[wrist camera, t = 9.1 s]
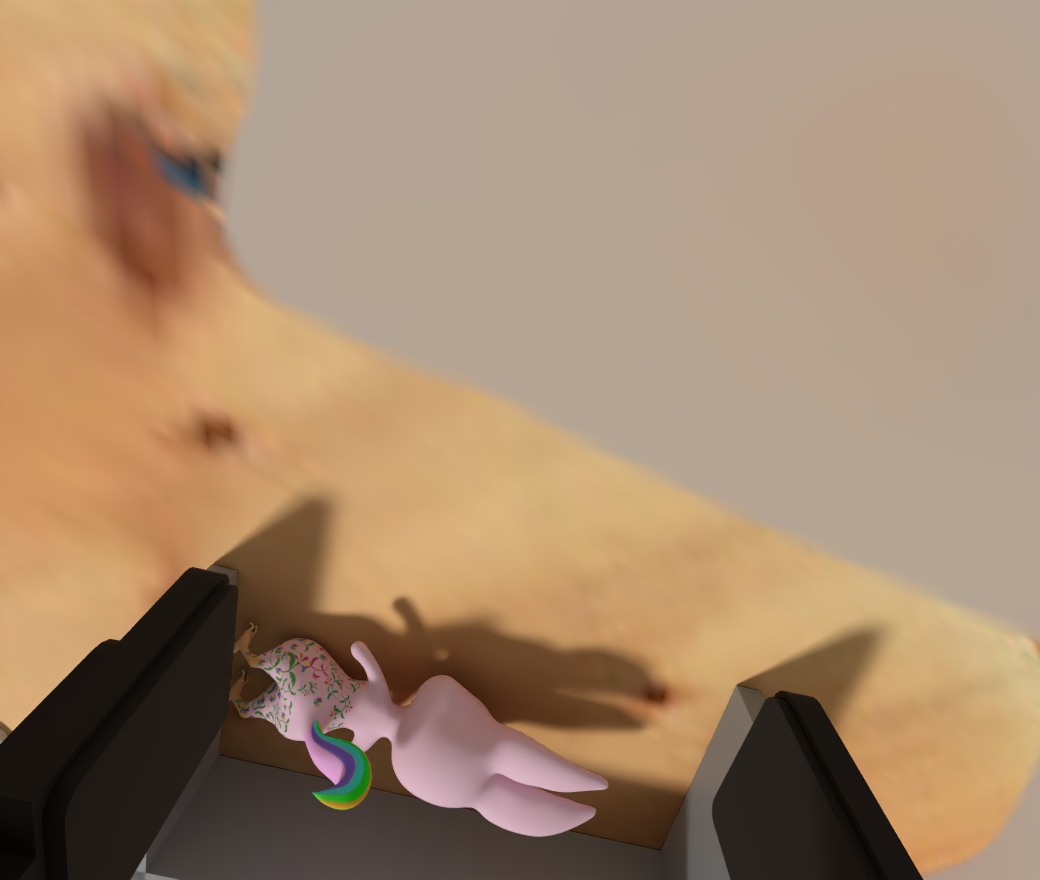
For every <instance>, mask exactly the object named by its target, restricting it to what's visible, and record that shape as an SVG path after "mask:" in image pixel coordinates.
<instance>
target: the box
mask: <svg viewBox="0 0 1040 880" xmlns="http://www.w3.org/2000/svg"><path fill="white" fill-rule="evenodd" d="M207 570H209V571H213V572H218V573H223V574H226V575H228V577H229V584H231V585H236V583H237V573H238V570H234V569H229V568H225V567H220V566H216V565H211V566H210V567H209V568H208V569H207ZM764 702H765V699H764V697H763V695H762V693H761V691H758V690H754V689H750V688H745V687H741V686H737V685H736V688H735V690H734V692H733V694H732V696H731V698H730V701H729V703H728V705H727V707H726V709H725V712H724V714H723V716H722V718H721V720H720V722H719V725H718V727H717V729H716V731H715V733H714V735H713V738H712V740H711V742H710V744H709V746H708V749H707V751H706V753H705V755H704V757H703V759H702V762H701V764H700V766H699V768H698V770H697V773H696V775H695V777H694V779H693V781H692V783H691V786H690V788H689V790H688V792H687V794H686V796H685V799H684V801H683V803H682V805H681V807H680V810H679V812H678V814H677V816H676V818H675V820H674V823H673V825H672V827H671V829H670V831H669V834H668V836H667V838H666V840H665V842H664V844H663V847H662V849H661V851H660V850H655V849H650V848H646V847H641V846H637V845H632V844H627V843H623V842H618V841H613V840H609V839H604V838H599V837H595V836H590V835H585V834H581V833H576V832H572V831H564V832H562V833H558V834H555V835H550V836H541V837H538V836H529V835H523V834H519V833H515V832H512V831H509V830H506V829H504V828H501V827H499V826H497V825H495V824H493V823H492V822H490V821H489V820H487V819H486V818H485V817H483V815H482V814H481V813H480V812H479V811H474V810H469V809H465V808H448V807H442V806H437V805H434V804H431V803H429V802H426V801H424V800H422V799H418V798H414V797H409V796H405V795H400V794H395V793H391V792H386V791H381V790H377V789H372V788H370V789H369V791H368V794H367V795H366V797H365V798H364V799H363V801H362V802H360V803H359V804H358V805H357V806H355V807H353V808H350V809H347V810H338V809H334V808H331V807H329V806H327V805H325V804H323V803H322V802H321V801H320V800H318V799H317V798H316V797H315V795H314V794H313V793H312V792H321V791H324V790H326V789H328V788H331V787H333V786H335V784H334V783H333V782H332V781H331V780H330V779H326V778H321V777H316V776H312V775H307V774H302V773H298V772H293V771H289V770H284V769H279V768H275V767H270V766H265V765H261V764H256V763H251V762H247V761H242V760H237V759H233V758H228V757H224V756H219V748H220V738H221V728H222V726H221V728H220V730H219V731H218V733H217V735H216V736H215V738H214V740H213V741H212V743H211V745H210V747H209V748H208V750H207V752H206V753H205V755H204V757H203V758H202V760H201V762H200V763H199V765H198V767H197V768H196V770H195V772H194V774H193V775H192V777H191V779H190V780H189V782H188V784H187V785H186V787H185V789H184V790H183V792H182V794H181V795H180V797H179V799H178V801H177V802H176V804H175V806H174V807H173V809H172V811H171V812H170V814H169V816H168V817H167V819H166V821H165V822H164V824H163V826H162V828H161V829H160V831H159V833H158V834H157V836H156V838H155V839H154V841H153V843H152V844H151V846H150V848H149V849H148V851H147V853H146V855H145V856H144V858H143V860H142V861H141V863H140V865H139V866H138V868H137V870H136V871H135V873H134V875H133V876H132V878H131V880H730V877H729V873H728V870H727V867H726V863H725V860H724V857H723V853H722V850H721V847H720V843H719V840H718V837H717V833H716V830H715V827H714V823H713V819H712V804H713V800H714V797H715V795H716V793H717V791H718V789H719V787H720V786H721V784H722V782H723V780H724V778H725V776H726V774H727V772H728V770H729V768H730V767H731V765H732V763H733V761H734V759H735V757H736V755H737V753H738V751H739V749H740V747H741V746H742V744H743V742H744V740H745V738H746V736H747V734H748V732H749V730H750V728H751V727H752V725H753V723H754V721H755V719H756V717H757V715H758V713H759V711H760V709H761V708H762V706H763V704H764Z"/></svg>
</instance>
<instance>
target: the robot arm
mask: <svg viewBox="0 0 1040 880" xmlns="http://www.w3.org/2000/svg"><path fill="white" fill-rule="evenodd" d="M237 600H238V587H237V586H236V585H231V584H229V577H228V575H226V574H223V573H218V572H213V571H209V570H204V569H199V568H194V567H192V568H189V569H188V570H187V571H185V572H184V573H183V574H182V576H181V577H180V578H179V579H178V580H177V581H176V582H175V583H174V584H173V585H172V586H171V587H170V588H169V589H168V590H167V591H166V593H165V594H164V595H163V596H162V597H161V598H160V599H159V600H158V601H157V602H156V603H155V604H154V605H153V606H152V607H151V608H150V609H149V611H148V612H147V613H146V614H145V615H144V616H143V617H142V618H141V619H140V620H139V621H138V622H137V623H136V624H135V625H134V626H133V627H132V629H131V630H130V631H129V632H128V633H127V634H126V635H125V636H124V637H123V638H122V639H121V640H120V641H119V640H113V639H109V640H106V641H104V642H102V643H100V644H99V645H98V646H97V647H96V648H94V649H93V650H92V651H91V652H90V653H89V654H88V655H87V656H86V657H85V658H84V659H83V660H82V661H81V662H80V663H79V664H78V665H77V666H76V667H75V668H74V670H73V671H72V672H71V673H70V674H69V675H68V676H67V677H66V678H65V679H64V680H63V681H62V682H61V683H60V684H59V685H58V686H57V687H56V688H55V689H54V690H53V691H52V692H51V693H50V694H49V695H48V696H47V697H46V698H45V699H44V700H43V701H42V702H41V703H40V704H39V705H38V706H37V707H36V708H35V709H34V710H33V711H32V712H31V713H30V714H29V715H28V716H27V717H26V718H25V719H24V720H23V721H22V722H21V723H20V724H19V725H18V726H17V727H16V728H15V729H14V730H13V731H12V732H11V733H10V734H9V735H8V736H7V737H6V739H5V740H4V741H3V742H2V743H1V744H0V880H131V878H132V876H133V875H134V873H135V871H136V870H137V868H138V866H139V865H140V863H141V861H142V860H143V858H144V856H145V855H146V853H147V851H148V849H149V848H150V846H151V844H152V843H153V841H154V839H155V838H156V836H157V834H158V833H159V831H160V829H161V828H162V826H163V824H164V822H165V821H166V819H167V817H168V816H169V814H170V812H171V811H172V809H173V807H174V806H175V804H176V802H177V801H178V799H179V797H180V795H181V794H182V792H183V790H184V789H185V787H186V785H187V784H188V782H189V780H190V779H191V777H192V775H193V774H194V772H195V770H196V768H197V767H198V765H199V763H200V762H201V760H202V758H203V757H204V755H205V753H206V752H207V750H208V748H209V747H210V745H211V743H212V741H213V740H214V738H215V736H216V735H217V733H218V731H219V730H220V728H221V726H222V724H223V722H224V719H225V717H226V714H227V710H228V706H229V696H230V684H231V672H232V660H233V648H234V636H235V624H236V612H237ZM712 819H713V823H714V827H715V830H716V833H717V837H718V840H719V843H720V847H721V850H722V853H723V857H724V860H725V863H726V867H727V870H728V873H729V877H730V880H923V878H922V877H921V875H920V873H919V872H918V870H917V868H916V867H915V865H914V863H913V861H912V860H911V858H910V856H909V855H908V853H907V851H906V849H905V848H904V846H903V844H902V843H901V841H900V839H899V838H898V836H897V834H896V832H895V831H894V829H893V827H892V826H891V824H890V822H889V820H888V819H887V817H886V815H885V814H884V812H883V810H882V808H881V807H880V805H879V803H878V802H877V800H876V798H875V797H874V795H873V793H872V791H871V790H870V788H869V786H868V785H867V783H866V781H865V779H864V778H863V776H862V774H861V773H860V771H859V769H858V768H857V766H856V764H855V762H854V761H853V759H852V757H851V756H850V754H849V752H848V750H847V749H846V747H845V745H844V744H843V742H842V740H841V739H840V737H839V735H838V733H837V732H836V730H835V728H834V727H833V725H832V723H831V721H830V720H829V718H828V716H827V715H826V713H825V711H824V710H823V708H822V706H821V704H820V703H819V702H818V701H817V699H815V698H813V697H810V696H805V695H800V694H796V693H791V692H786V691H779V692H778V693H776V694H775V696H774V697H769V698H767V699H766V701H765V702H764V704H763V706H762V708H761V709H760V711H759V713H758V715H757V717H756V719H755V721H754V723H753V725H752V727H751V728H750V730H749V732H748V734H747V736H746V738H745V740H744V742H743V744H742V746H741V747H740V749H739V751H738V753H737V755H736V757H735V759H734V761H733V763H732V765H731V767H730V768H729V770H728V772H727V774H726V776H725V778H724V780H723V782H722V784H721V786H720V787H719V789H718V791H717V793H716V795H715V797H714V800H713V804H712Z"/></svg>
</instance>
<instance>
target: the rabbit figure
mask: <svg viewBox="0 0 1040 880" xmlns="http://www.w3.org/2000/svg"><path fill="white" fill-rule="evenodd" d="M249 624H250V625H251V626H252V627H251V628H250V629H247V630H246V631H245V632H244V633H243V635H242V636H241V637H240V638H239V640H238V641H237V642H236V643H235V644H234V648H233V653H236V652H237V651H240V652H241V654H242V655H243V656H244V657H245V659H246V660H247V662H248V664H249V666H251V667H254V668H261V669H263V670H264V671H265V672H266V673H267V674H269V675H270V676H271V677H272V678H273V679H274V680H275V681H274V682H273V683H272V684H271V685H270V686H269V687H268V688H267V689H266V690H265V691H264V692H263V693H262V694H261V695H260V696H258V697H257V698H256V699H254V700H252V701H250V702H244V701H243V700H242V699H241V697H240V694H241V692H242V691H243V690H244V688H243V687H244V686H245V685H246V684H247V682H248V681H249V676H246V680H244V677H245V672H244V671H243V670H242V677H241V678H240V679H238V680H237V682H236V683H235V684H234V685H233V686H232V688H231V689H230V696H229V701H230V700H231V701H232V702H233V704H234V705H235V706H236V708H237V710H238V712H239V715H240V716H241V717H242V718H250V717H257V718H262V719H265V720H268V721H270V722H272V723H273V724H274V725H275V726H276V727H277V729H278V731H279V732H280V733H281V734H282V735H283V736H284V737H286V738H288V739H291V740H296V741H305V743H306V746H307V749H308V751H309V753H310V756H311V758H312V760H313V762H314V764H315V765H316V766H317V768H318V769H319V770H320V771H321V772H322V773H323V774H324V775H326V776H327V777H328V778H329V779H330V780H331V781H332V782H333V783H334V784H335V786H333V787H331V788H328V789H326V790H324V791H321V792H312V793H313V794H314V795H315V797H316V798H317V799H318V800H320V801H321V802H322V803H323V804H325V805H327V806H329V807H331V808H334V809H338V810H347V809H350V808H353V807H355V806H357V805H358V804H359V803H360V802H362V801H363V799H364V798H365V797H366V795H367V794H368V791H369V789H370V786H371V781H372V770H371V764H370V761H369V759H368V757H367V755H366V754H365V753H364V752H365V751H367V750H368V749H369V748H370V747H371V746H372V745H373V744H374V743H375V742H376V741H377V740H378V739H379V738H381V737H386V738H388V739H389V740H390V741H391V743H392V764H393V768H394V771H395V774H396V776H397V778H398V779H399V781H400V782H401V784H402V785H403V786H404V787H405V788H406V789H407V790H408V791H409V792H411V793H412V794H414V795H415V796H417V797H419V798H420V799H422V800H424V801H426V802H429V803H431V804H434V805H437V806H442V807H448V808H461V807H472V808H475V809H476V810H477V811H479V812H480V813H481V814H482V815H483V817H485V818H486V819H487V820H489V821H490V822H492V823H493V824H495V825H497V826H499V827H501V828H504V829H506V830H509V831H512V832H515V833H519V834H523V835H529V836H538V837H541V836H550V835H555V834H558V833H562V832H564V831H567V830H569V829H572V828H574V827H576V826H578V825H580V824H582V823H584V822H586V821H588V820H589V819H591V818H592V817H593V816H594V815H595V814H596V809H595V808H594V807H591V806H588V805H584V804H580V803H577V802H575V801H572V800H569V799H567V798H564V797H560V796H557V795H554V794H551V793H549V792H546V791H544V790H542V789H540V788H544V789H548V790H552V791H557V792H578V791H589V790H604V789H607V788H608V782H607V780H606V779H605V778H603V777H602V776H600V775H598V774H595V773H593V772H590V771H588V770H585V769H583V768H581V767H579V766H577V765H575V764H573V763H572V762H570V761H568V760H566V759H564V758H563V757H561V756H559V755H557V754H555V753H554V752H552V751H551V750H549V749H548V748H546V747H545V746H543V745H542V744H540V743H539V742H537V741H536V740H534V739H533V738H531V737H529V736H527V735H526V734H524V733H522V732H520V731H518V730H515V729H513V728H511V727H507V726H505V725H502V724H500V723H498V722H497V721H496V720H495V719H494V718H493V717H492V716H491V715H490V713H489V711H488V710H487V708H486V707H485V705H484V704H483V703H482V702H481V701H480V700H479V699H477V698H476V697H475V696H474V695H472V694H471V693H470V692H469V691H467V690H466V689H465V688H464V687H463V686H461V685H460V684H459V683H458V682H457V681H456V680H455V679H453V678H451V677H449V676H446V675H437V676H434V677H431V678H430V679H428V680H427V681H425V682H424V683H423V684H422V686H421V687H420V688H419V690H418V692H417V694H416V695H415V698H414V699H413V700H412V701H411V704H409V705H407V706H398V705H396V704H395V703H393V701H392V700H391V698H390V694H389V690H388V686H387V683H386V680H385V678H384V675H383V673H382V671H381V669H380V667H379V665H378V663H377V662H376V660H375V658H374V657H373V655H372V654H371V652H370V651H369V649H368V648H367V646H366V645H365V644H364V643H363V642H361V641H356V642H355V643H353V644H352V646H351V653H352V655H353V656H354V658H356V659H357V660H358V661H359V662H360V663H361V664H362V666H363V667H364V669H365V671H366V673H367V676H368V681H360V680H354V679H351V678H350V677H348V676H347V675H346V674H345V672H344V671H343V670H342V669H341V667H340V666H339V665H338V664H337V663H336V662H335V661H334V660H333V658H332V657H331V656H330V655H329V654H328V653H327V651H326V650H325V649H324V648H323V647H322V646H321V645H320V644H318V643H316V642H315V641H313V640H310V639H305V638H294V639H291V640H288V641H286V642H284V643H283V644H281V645H279V646H277V647H276V648H274V649H271V650H269V651H267V652H265V653H263V654H260V655H254V654H252V653H251V652H250V651H249V648H248V645H249V644H250V643H251V639H252V638H253V637H255V634H256V633H257V630H258V627H257V626H255V628H254V625H253V623H249ZM252 629H254V630H255V631H254V632H252ZM337 728H348V729H351V730H352V731H353V732H354V739H353V741H352V742H349V741H346V740H343V739H338V738H333V737H329V736H326V735H325V733H327V732H329V731H331V730H334V729H337ZM538 787H540V788H538Z"/></svg>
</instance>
